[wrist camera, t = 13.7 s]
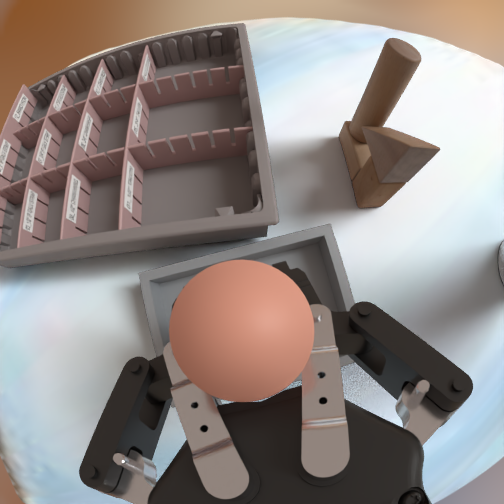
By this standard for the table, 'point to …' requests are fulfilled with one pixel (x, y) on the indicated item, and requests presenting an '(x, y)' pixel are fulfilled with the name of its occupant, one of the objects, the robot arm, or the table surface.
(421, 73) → the table surface
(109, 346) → the table surface
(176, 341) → the dowel
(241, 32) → the organizer tray
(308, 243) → the tray
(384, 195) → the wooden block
